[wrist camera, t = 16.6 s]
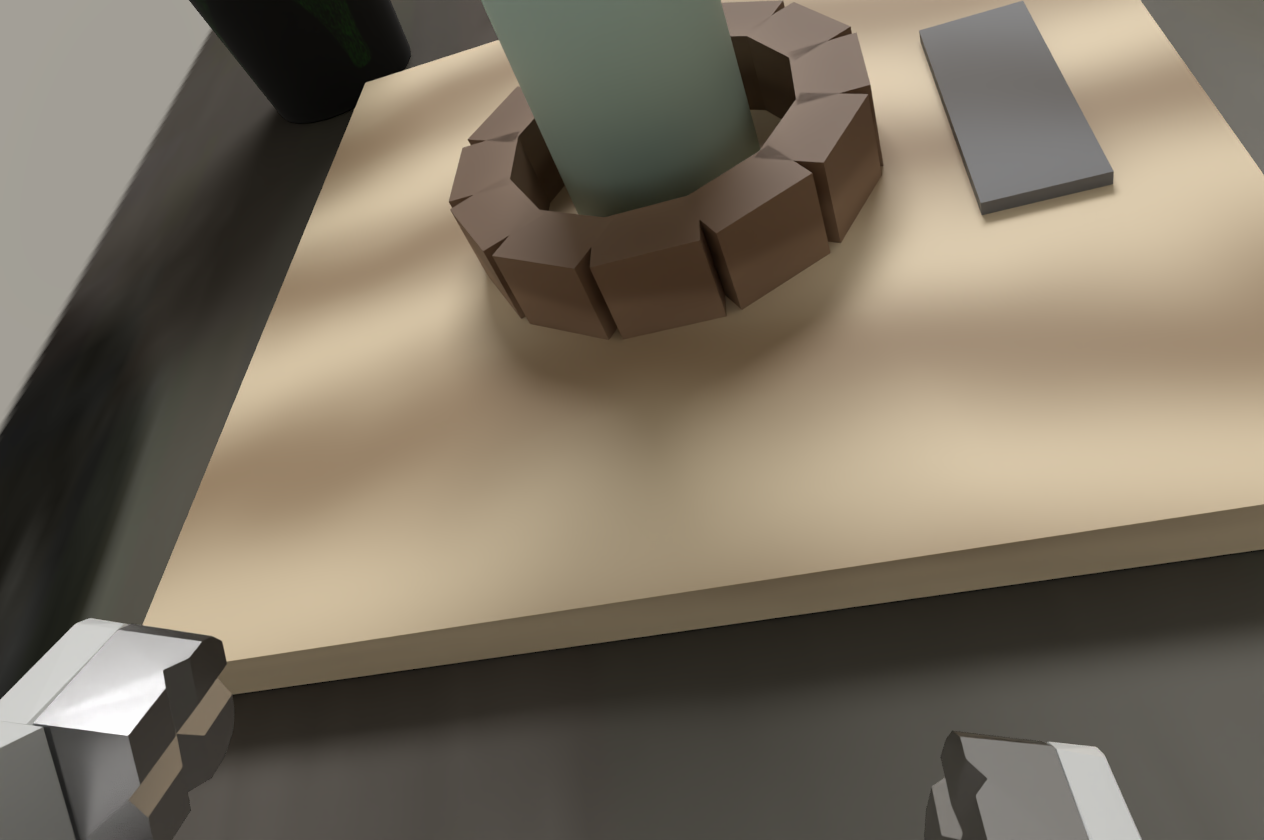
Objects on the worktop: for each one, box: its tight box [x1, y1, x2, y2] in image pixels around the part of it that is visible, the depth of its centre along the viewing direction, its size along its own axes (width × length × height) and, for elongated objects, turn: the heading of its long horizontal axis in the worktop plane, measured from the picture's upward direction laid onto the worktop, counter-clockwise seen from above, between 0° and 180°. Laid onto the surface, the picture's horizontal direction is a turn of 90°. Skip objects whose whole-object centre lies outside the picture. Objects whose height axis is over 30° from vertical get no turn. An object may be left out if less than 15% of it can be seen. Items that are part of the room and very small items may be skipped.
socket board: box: [143, 0, 1264, 695], centre depth 22 cm, size 22×22×3 cm
